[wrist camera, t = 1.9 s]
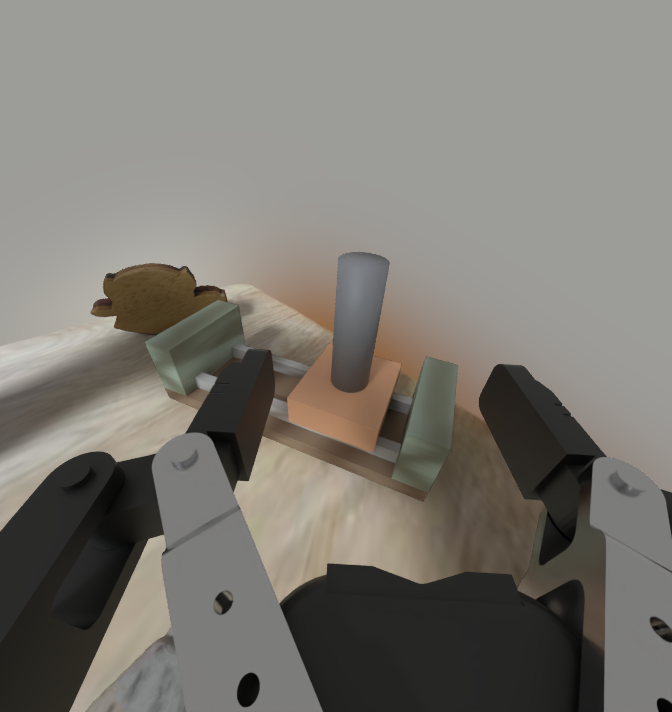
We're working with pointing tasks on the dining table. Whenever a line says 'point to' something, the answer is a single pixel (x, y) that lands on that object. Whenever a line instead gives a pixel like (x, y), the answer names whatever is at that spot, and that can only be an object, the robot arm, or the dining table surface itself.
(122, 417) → the dining table surface
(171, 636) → the decorative stone
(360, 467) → the rail bed
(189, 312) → the wooden carving
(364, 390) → the carriage
